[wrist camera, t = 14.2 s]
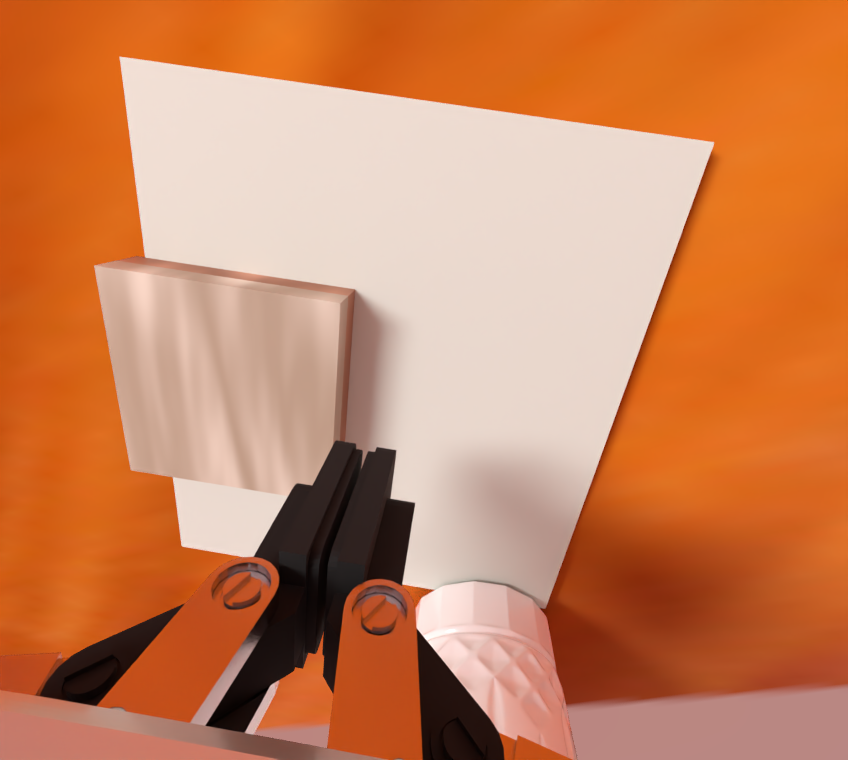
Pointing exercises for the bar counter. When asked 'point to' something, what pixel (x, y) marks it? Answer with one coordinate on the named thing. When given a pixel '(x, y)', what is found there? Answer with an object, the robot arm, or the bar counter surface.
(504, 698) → the white cup
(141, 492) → the bar counter surface
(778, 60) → the bar counter surface
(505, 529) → the mat
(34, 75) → the bar counter surface
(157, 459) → the tile
